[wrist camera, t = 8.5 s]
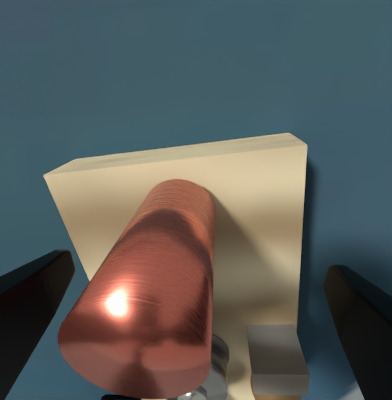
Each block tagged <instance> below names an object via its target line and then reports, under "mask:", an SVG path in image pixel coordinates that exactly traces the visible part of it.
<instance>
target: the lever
mask: <svg viewBox="0 0 392 400" xmlns="http://www.w3.org/2000/svg"><path fill="white" fill-rule="evenodd" d="M215 214H216V212H215V206H214V203H213V200H212V198H211V197H210V195H209V194H208V193H207V192H206V191H205V190H204V189H203V188H202V187H201V186H199V185H197V184H196V183H193V182H191V181H188V180H183V179H170V180H166V181H163V182H161V183H159V184H157V185H156V186H155V187H153V188H152V189H151V190H150V192H149V193H148V195H147V196H146V198H145V199H144V201H143V202H142V204H141V205H140V207H139V208H138V210H137V211H136V213H135V214H134V216H133V217H132V219H131V220H130V222H129V223H128V225H127V226H126V228H125V229H124V231H123V232H122V234H121V235H120V237H119V238H118V240H117V241H116V243H115V244H114V246H113V247H112V249H111V250H110V252H109V253H108V255H107V256H106V258H105V259H104V261H103V262H102V264H101V265H100V267H99V268H98V270H97V272H96V273H95V275H94V276H93V278H92V279H91V281H90V282H89V284H88V285H87V287H86V288H85V290H84V291H83V293H82V294H81V296H80V297H79V299H78V300H77V302H76V303H75V305H74V306H73V308H72V309H71V311H70V312H69V314H68V315H67V317H66V318H65V320H64V321H63V323H62V325H61V327H60V329H59V333H58V344H59V348H60V351H61V353H62V355H63V357H64V358H65V360H66V361H67V363H68V364H69V365H70V366H71V367H72V368H73V369H74V370H75V371H76V372H77V373H78V374H80V375H81V376H82V377H84V378H85V379H87V380H88V381H90V382H91V383H93V384H95V385H97V386H99V387H101V388H103V389H106V390H108V391H111V392H114V393H117V394H120V395H124V396H128V397H133V398H140V399H166V400H226V399H227V395H228V392H227V360H226V356H225V354H224V353H223V352H222V351H221V350H220V349H219V348H218V347H216V346H215V345H213V344H211V339H212V308H213V277H214V245H215Z"/></svg>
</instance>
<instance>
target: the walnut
mask: <svg viewBox="0 0 392 400" xmlns="http://www.w3.org/2000/svg"><path fill="white" fill-rule="evenodd" d="M250 383H251V390H252V393H253V396H254V398H255V400H301V395H268V394H254V392H253V383H252V374H251V379H250Z"/></svg>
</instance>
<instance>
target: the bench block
mask: <svg viewBox="0 0 392 400" xmlns="http://www.w3.org/2000/svg"><path fill="white" fill-rule="evenodd" d="M306 159H307V144H305V143H304V142H302V141H301V140H299V139H298V138H296V137H295V136H293V135H292V134H290V133H283V134H274V135H266V136H258V137H250V138H242V139H234V140H226V141H218V142H210V143H202V144H194V145H186V146H177V147H169V148H161V149H153V150H145V151H137V152H129V153H121V154H113V155H105V156H97V157H88V158H80V159H74V160H72V161H70V162H68V163H67V164H65V165H63V166H61V167H59V168H57V169H55V170H53V171H51V172H49V173H47V174H45V175H43V176H44V178H45V180H46V183H47V185H48V187H49V189H50V192H51V194H52V196H53V199H54V201H55V203H56V205H57V208H58V210H59V212H60V215H61V217H62V219H63V221H64V224H65V226H66V228H67V231H68V233H69V235H70V237H71V240H72V242H73V244H74V246H75V249H76V251H77V253H78V256H79V258H80V260H81V262H82V265H83V267H84V269H85V272H86V274H87V276H88V278H89V281H91V279H92V278H93V276H94V275H95V273H96V272H97V270H98V268H99V267H100V265H101V264H102V262H103V261H104V259H105V258H106V256H107V255H108V253H109V252H110V250H111V249H112V247H113V246H114V244H115V243H116V241H117V240H118V238H119V237H120V235H121V234H122V232H123V231H124V229H125V228H126V226H127V225H128V223H129V222H130V220H131V219H132V217H133V216H134V214H135V213H136V211H137V210H138V208H139V207H140V205H141V204H142V202H143V201H144V199H145V198H146V196H147V195H148V193H149V192H150V190H151V189H152V188H153V187H155V186H156V185H157V184H159V183H161V182H163V181H166V180H170V179H183V180H188V181H191V182H193V183H196V184H197V185H199V186H201V187H202V188H203V189H204V190H205V191H206V192H207V193H208V194H209V195H210V197H211V198H212V200H213V203H214V206H215V212H216V214H215V245H214V277H213V308H212V339H211V344H213V345H215V346H216V347H218V348H219V349H220V350H221V351H222V352H223V353H224V354H225V356H226V360H227V392H228V395H227V399H226V400H255V398H254V396H253V393H252V390H251V383H250V379H251V374H252V383H253V392H254V394H268V395H305V396H307V394H308V385H309V372H308V369H307V365H306V362H305V359H304V356H303V353H302V349H301V346H300V343H299V340H298V336H297V333H296V332H297V315H298V297H299V280H300V263H301V245H302V228H303V211H304V193H305V176H306ZM142 400H166V399H142Z"/></svg>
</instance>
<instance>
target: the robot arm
mask: <svg viewBox="0 0 392 400" xmlns="http://www.w3.org/2000/svg"><path fill="white" fill-rule="evenodd" d="M74 273H75V266H74V262H73V259H72V255H71V252H70V251H69V250H63V249H57V250H54V251H52V252H50V253H48V254H46V255H44V256H42V257H40V258H38V259H36V260H34V261H32V262H30V263H27V264H25V265H23V266H21V267H19V268H17V269H15V270H13V271H11V272H9V273H7V274H5V275H3V276H0V400H5V398H6V396H7V395H8V393H9V391H10V389H11V388H12V386H13V384H14V383H15V381H16V379H17V378H18V376H19V374H20V373H21V371H22V369H23V368H24V366H25V364H26V363H27V361H28V359H29V357H30V356H31V354H32V352H33V351H34V349H35V347H36V346H37V344H38V342H39V341H40V339H41V337H42V336H43V334H44V332H45V331H46V329H47V327H48V325H49V324H50V322H51V320H52V319H53V317H54V315H55V313H56V311H57V309H58V307H59V305H60V303H61V301H62V299H63V297H64V295H65V293H66V290H67V288H68V286H69V284H70V282H71V280H72V278H73V276H74ZM324 291H325V294H326V297H327V301H328V304H329V307H330V311H331V314H332V317H333V321H334V324H335V327H336V330H337V333H338V336H339V339H340V342H341V344H342V347H343V349H344V351H345V354H346V356H347V358H348V361H349V363H350V366H351V368H352V370H353V373H354V375H355V378H356V380H357V382H358V385H359V387H360V390H361V392H362V394H363V397H364V399H365V400H392V296H390V295H389V294H387V293H386V292H384V291H383V290H381V289H380V288H378V287H377V286H375V285H374V284H372V283H371V282H369V281H368V280H366V279H365V278H363V277H362V276H360V275H359V274H357V273H356V272H354V271H353V270H351V269H349V268H348V267H346V266H344V265H330V267H329V269H328V272H327V275H326V278H325V282H324ZM101 400H142V399H140V398H133V397H122V396H103V397H102V398H101Z"/></svg>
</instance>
